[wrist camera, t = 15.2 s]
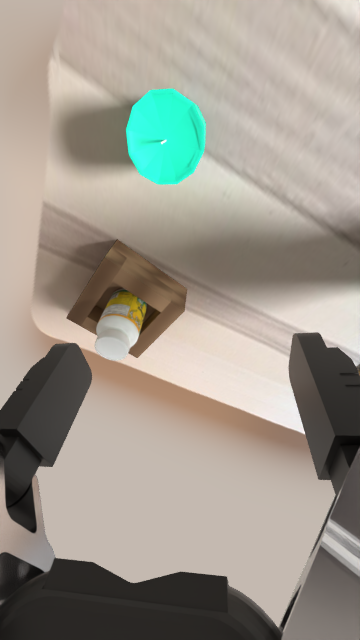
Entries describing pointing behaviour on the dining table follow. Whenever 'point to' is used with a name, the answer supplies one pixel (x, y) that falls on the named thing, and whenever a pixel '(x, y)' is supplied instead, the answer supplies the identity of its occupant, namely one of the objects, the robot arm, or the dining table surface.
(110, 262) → the walnut tray
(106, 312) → the supplement bottle
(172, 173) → the candle
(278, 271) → the dining table surface
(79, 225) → the dining table surface
